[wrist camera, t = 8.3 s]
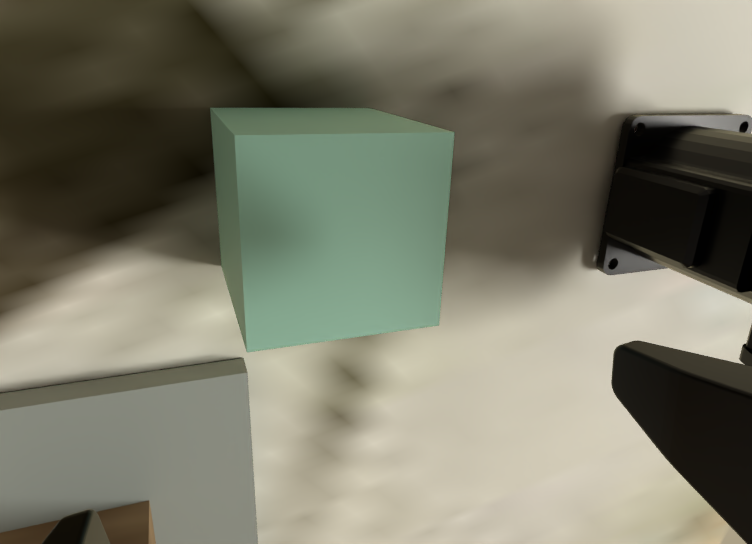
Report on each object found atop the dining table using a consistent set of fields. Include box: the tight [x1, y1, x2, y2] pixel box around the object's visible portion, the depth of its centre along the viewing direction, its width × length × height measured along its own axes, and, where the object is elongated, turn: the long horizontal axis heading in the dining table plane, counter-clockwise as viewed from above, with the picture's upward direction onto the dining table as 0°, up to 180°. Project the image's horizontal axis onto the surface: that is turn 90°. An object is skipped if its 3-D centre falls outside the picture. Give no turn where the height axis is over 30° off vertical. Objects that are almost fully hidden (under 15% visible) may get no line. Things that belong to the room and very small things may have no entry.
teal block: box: [210, 108, 455, 352], centre depth 16 cm, size 5×5×6 cm
